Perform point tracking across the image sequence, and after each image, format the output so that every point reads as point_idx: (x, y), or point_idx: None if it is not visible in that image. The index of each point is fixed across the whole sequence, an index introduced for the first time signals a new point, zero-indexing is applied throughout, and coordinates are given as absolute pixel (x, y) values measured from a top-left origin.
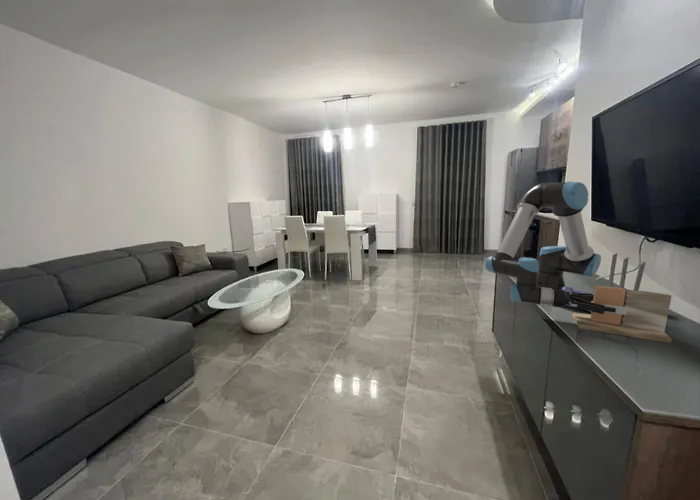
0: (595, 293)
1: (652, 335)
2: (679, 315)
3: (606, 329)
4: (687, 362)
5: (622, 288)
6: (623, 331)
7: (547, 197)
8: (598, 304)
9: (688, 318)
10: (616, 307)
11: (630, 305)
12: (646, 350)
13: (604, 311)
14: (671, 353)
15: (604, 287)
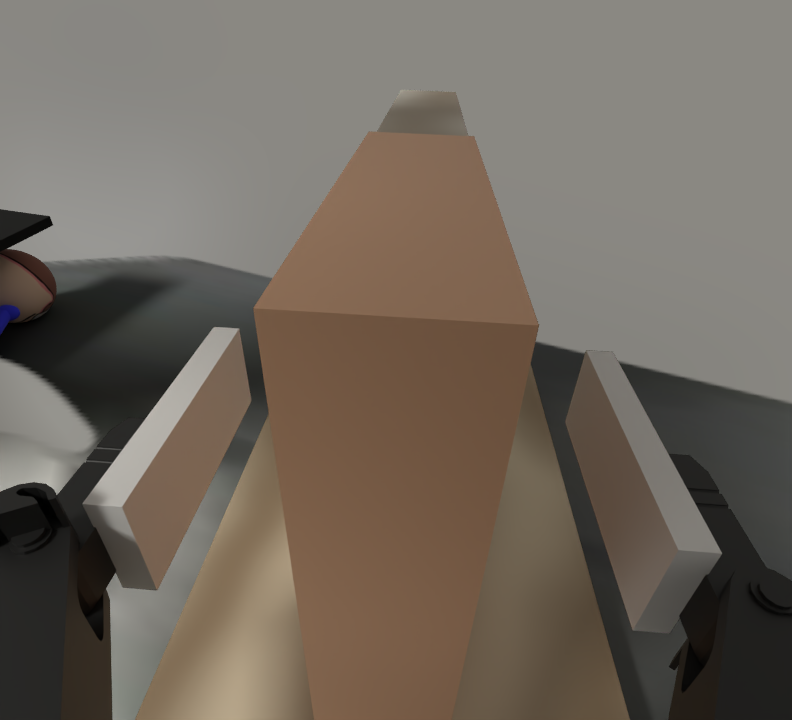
0: (445, 533)
1: (532, 415)
2: (110, 264)
3: (624, 703)
4: (769, 410)
5: (387, 136)
6: (577, 553)
7: None
8: (758, 663)
9: (149, 258)
10: (645, 433)
11: None
12: (785, 523)
13: (668, 617)
14: (697, 426)
15: (455, 224)
